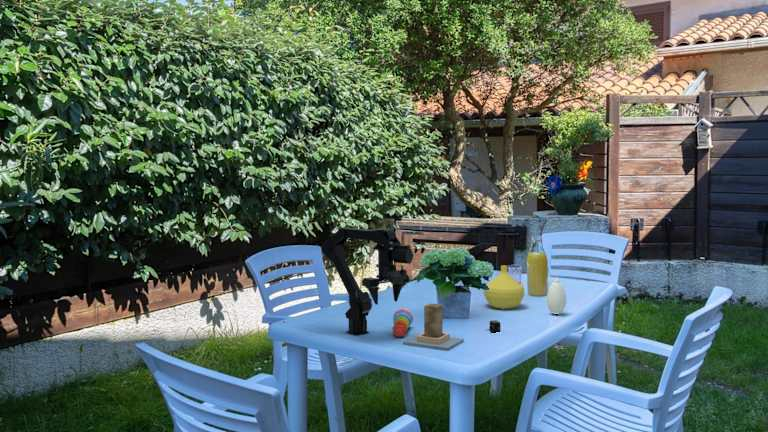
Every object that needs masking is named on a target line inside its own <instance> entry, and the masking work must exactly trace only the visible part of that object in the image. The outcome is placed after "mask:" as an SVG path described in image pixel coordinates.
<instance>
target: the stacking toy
mask: <svg viewBox="0 0 768 432" xmlns="http://www.w3.org/2000/svg"><path fill="white" fill-rule="evenodd" d="M392 319H393V329H392V332H393V334H394V336H395V337H397V338H401V337H402V338H403V337H405V335H406V334H407V330H408V329H409V327H410V326H411V325H412V323H413V320H414V314H413V313H412V311H411V310H410V309H408V308H405V307H401V308H398V309H396V310H395V312H394V313H393V317H392Z"/></svg>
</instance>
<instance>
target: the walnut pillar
mask: <svg viewBox="0 0 768 432" xmlns="http://www.w3.org/2000/svg"><path fill="white" fill-rule="evenodd" d="M443 306H444V305H443V304H440V303H427V304H425V305H424V306H423V311H424V312H423V313H424V314H423V317H424V318H423V320H424V321H423V327H424V328H423V331H424V332H423V333H424V336H425V337H432V338H439V337H441V336H443V333H444V331H443V323H444V321H443V316H444V315H443Z"/></svg>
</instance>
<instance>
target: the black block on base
mask: <svg viewBox="0 0 768 432" xmlns="http://www.w3.org/2000/svg"><path fill="white" fill-rule="evenodd" d="M501 328H502V327H501V322H500V321H498V320H496V319H495V320H489V328H486V329H487V330H489V331H490V332H491V333H496V332H500V331H501ZM491 333H490V334H491Z"/></svg>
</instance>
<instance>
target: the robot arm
mask: <svg viewBox="0 0 768 432" xmlns="http://www.w3.org/2000/svg"><path fill="white" fill-rule="evenodd" d="M349 239H354V240H363V241H371V242H372V243H375V244H376V245H375V246H374V247H373V248H372V250H374V251H377V253H378V256H377V260H378V261H377V262H378V263H377V264H376V265H375V266H376V268H377V269H378V270H377V272H378V273H377V274H376V275H375V277H372V276H371V277H369V276H368V277H364V278H363V279H362V280H361V286H363V287H364V288H366V289H367V291H363V290H361V288H360V286H359V284H358V282H357V280H356V278H355V277H354V274H353V272H352V270H351V269H350V267H349V264H348V263H347V260H346V259H345V248H344V245H346V243H347V242H348V240H349ZM320 249H321V252H322V253H323V254H324V256H325V257H326V258H327V259H328V260H329V261H330V262H331V263H332V264H333V266H334V268H335V269H336V270H335V271H337V273H338V276H339V278H340V280H341V282H342V284H343V286H344V288H345V290H346V292H347V294H348V304H349V309H348V310H346V311H345V317H346V319H347V320H348V330H346V333H349V334H351V335H354V336H357V335H363V334H369V331H368V320H367V316H369V313H370V311H371V310H372V308H373V303H374V304H375V305H378V304H379V290H380V288H381V287H379V285H381V284H387V283H391V285H392V286H391V287H392V293H393V300H394V302H398V300H399V297H400V294H401V291H402V289H403V288H404V286H406V285H408V283H410V276H409V274H408V272H407V270H406V269H405V268H404V269H399V270H397V265H396V264H408V265H411V263H412V262H413V259H414V253H413V250H412V248H411V245H409V244H407V245H405V244H402V243H401V241H400V240H399V238H398V237H397V235H396V232H395V231H394V229H393V228H381V229H365V228H354V227H353V228H352V227H348V226H346V227H340V228H339V229H338V230H337V231H336V232H334V234H332V235H331V236H330V237H328V238H327V239H326V240H324V241H323V242H322V243H321V246H320ZM394 263H395V264H394ZM368 292H369V293H368ZM369 294H370V295H369ZM370 296H371V297H370ZM371 298H372V299H371ZM372 301H373V302H372Z"/></svg>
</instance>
